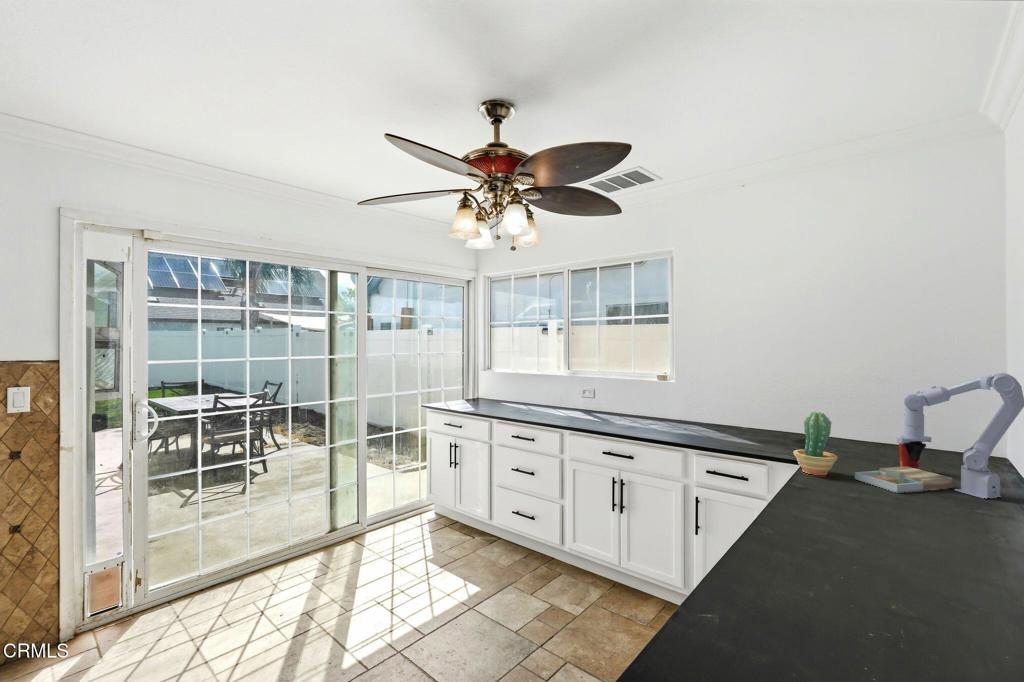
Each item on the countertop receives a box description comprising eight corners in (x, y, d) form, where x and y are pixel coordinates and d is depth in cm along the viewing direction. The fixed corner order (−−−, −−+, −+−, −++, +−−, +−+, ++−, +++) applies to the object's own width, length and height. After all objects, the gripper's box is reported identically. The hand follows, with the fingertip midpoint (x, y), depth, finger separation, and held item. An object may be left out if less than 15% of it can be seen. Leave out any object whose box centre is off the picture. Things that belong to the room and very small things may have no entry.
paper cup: (926, 473, 192) (927, 439, 192) (907, 473, 192) (908, 439, 192) (910, 468, 200) (911, 435, 200) (892, 468, 200) (892, 435, 200)
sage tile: (904, 472, 174) (899, 472, 173) (904, 485, 174) (899, 485, 173) (890, 468, 179) (885, 468, 178) (890, 481, 179) (885, 481, 178)
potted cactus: (847, 479, 183) (847, 415, 183) (807, 478, 183) (808, 414, 183) (821, 468, 199) (822, 409, 199) (785, 467, 199) (785, 409, 199)
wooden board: (952, 488, 172) (952, 477, 172) (923, 491, 169) (923, 480, 169) (906, 476, 188) (906, 466, 188) (879, 478, 185) (879, 468, 185)
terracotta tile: (886, 479, 172) (886, 486, 172) (897, 479, 173) (897, 485, 173) (873, 475, 177) (873, 482, 177) (883, 475, 178) (883, 481, 178)
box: (923, 491, 169) (923, 482, 169) (897, 493, 166) (897, 484, 166) (879, 478, 185) (879, 470, 185) (854, 480, 182) (854, 472, 182)
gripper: (917, 423, 184) (917, 457, 184) (888, 424, 181) (888, 459, 181) (937, 426, 177) (937, 462, 177) (907, 427, 174) (907, 464, 174)
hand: (914, 461), depth 178 cm, fingers closed
